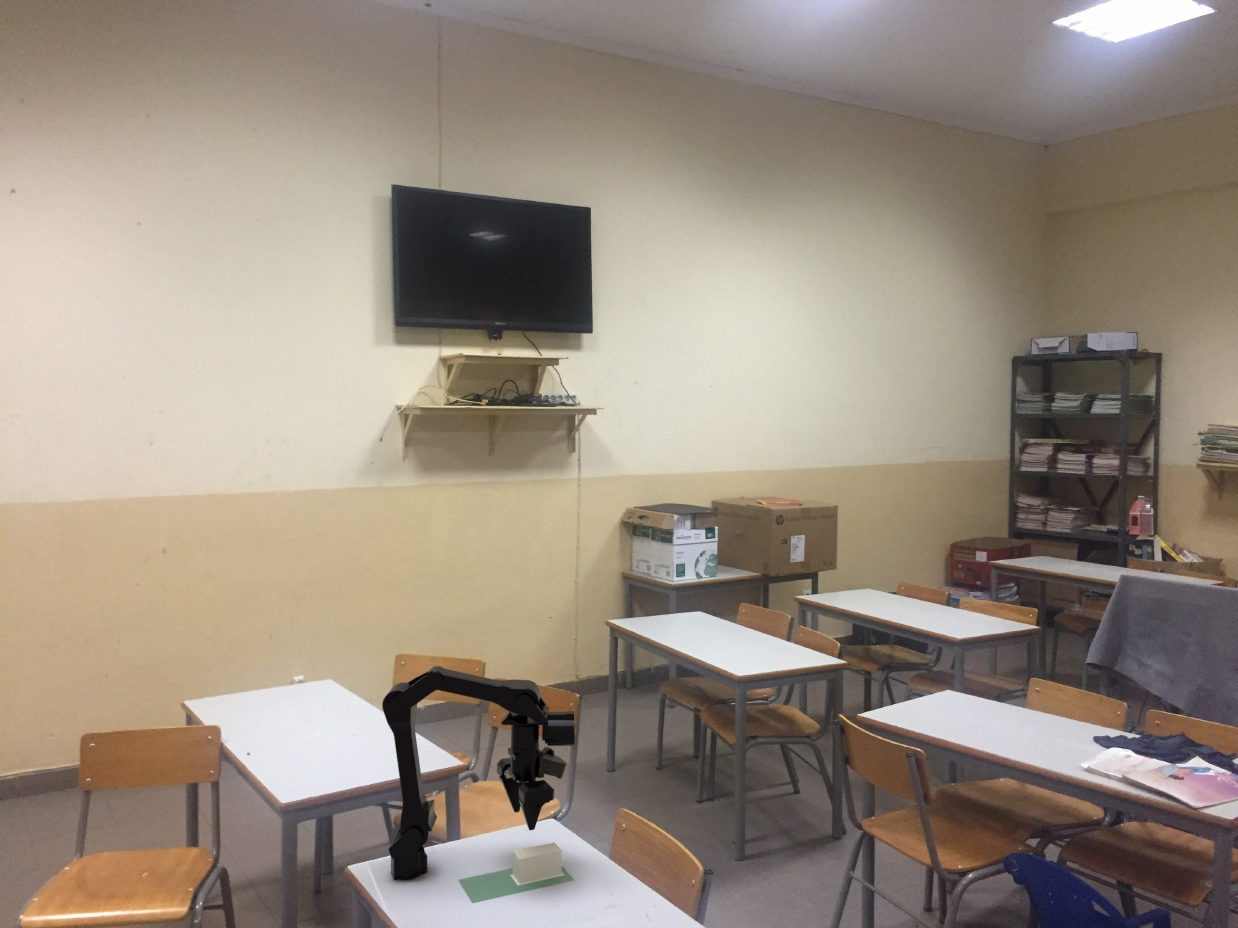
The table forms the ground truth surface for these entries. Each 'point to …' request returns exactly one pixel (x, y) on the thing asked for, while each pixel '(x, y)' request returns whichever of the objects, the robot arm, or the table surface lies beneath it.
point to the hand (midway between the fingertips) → (524, 820)
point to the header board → (505, 884)
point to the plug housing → (536, 863)
